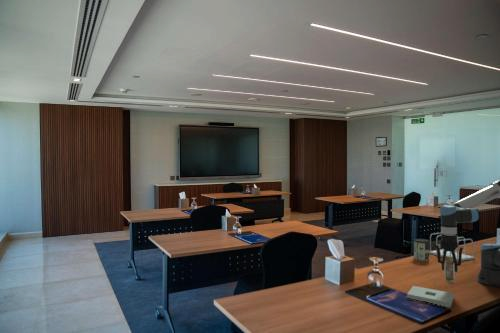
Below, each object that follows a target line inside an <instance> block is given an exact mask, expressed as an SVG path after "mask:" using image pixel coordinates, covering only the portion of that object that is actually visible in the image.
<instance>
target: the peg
mask: <svg viewBox="0 0 500 333" xmlns="http://www.w3.org/2000/svg"><path fill="white" fill-rule="evenodd" d="M445 264H446V277H445V283H446V284H447V285H454V284H455V282H454V280H455V278H453V265H454V261H453V256H446V257H445Z"/></svg>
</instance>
